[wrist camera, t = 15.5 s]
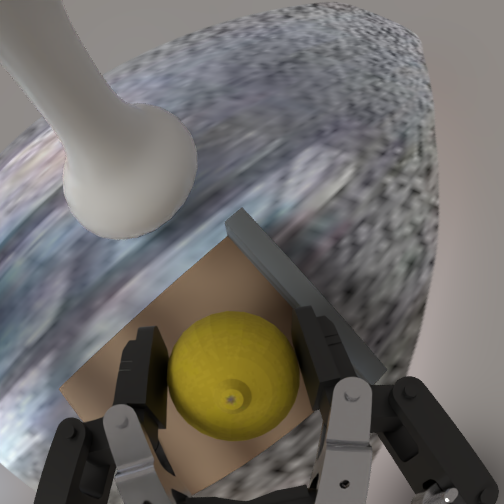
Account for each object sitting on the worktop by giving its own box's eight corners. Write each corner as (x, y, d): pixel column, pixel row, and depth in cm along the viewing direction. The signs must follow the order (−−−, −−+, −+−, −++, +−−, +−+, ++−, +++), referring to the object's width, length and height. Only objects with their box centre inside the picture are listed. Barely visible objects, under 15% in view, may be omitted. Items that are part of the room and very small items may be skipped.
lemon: (234, 291, 16) (232, 269, 8) (302, 359, 16) (357, 392, 8) (166, 356, 15) (108, 388, 7) (234, 422, 15) (233, 498, 7)
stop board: (174, 496, 15) (161, 528, 11) (68, 384, 17) (35, 397, 12) (358, 358, 18) (387, 369, 14) (242, 229, 19) (242, 207, 15)
